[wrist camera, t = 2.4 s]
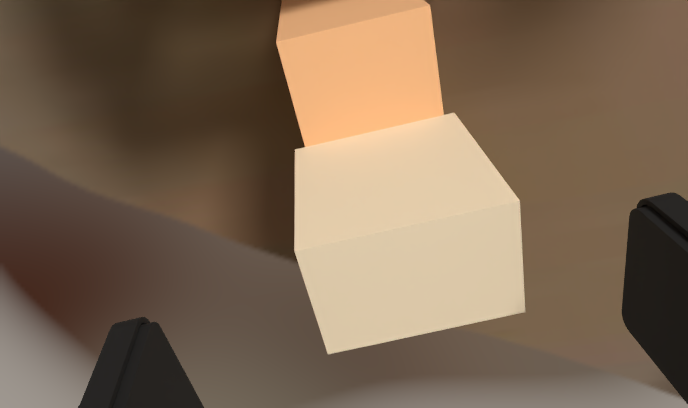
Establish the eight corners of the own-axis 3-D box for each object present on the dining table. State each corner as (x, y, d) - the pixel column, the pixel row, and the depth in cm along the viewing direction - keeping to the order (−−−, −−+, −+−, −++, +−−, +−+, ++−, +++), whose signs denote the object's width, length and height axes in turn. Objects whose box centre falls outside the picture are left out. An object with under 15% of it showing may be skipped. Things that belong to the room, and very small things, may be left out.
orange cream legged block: (407, 138, 28) (529, 397, 13) (323, 157, 28) (354, 434, 14) (377, -43, 24) (512, 51, 9) (278, -19, 24) (249, 113, 9)
